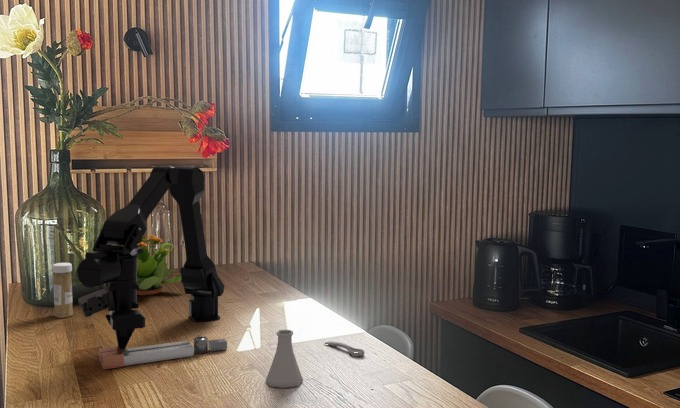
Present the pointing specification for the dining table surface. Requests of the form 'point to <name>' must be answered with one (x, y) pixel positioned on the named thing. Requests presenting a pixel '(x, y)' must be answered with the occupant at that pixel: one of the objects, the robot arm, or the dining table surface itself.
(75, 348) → the dining table surface
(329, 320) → the dining table surface
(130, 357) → the tongs fixed
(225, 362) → the dining table surface
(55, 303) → the sprinkles bottle
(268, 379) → the flask
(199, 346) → the tong arm
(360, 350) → the spoon
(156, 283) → the potted flower
